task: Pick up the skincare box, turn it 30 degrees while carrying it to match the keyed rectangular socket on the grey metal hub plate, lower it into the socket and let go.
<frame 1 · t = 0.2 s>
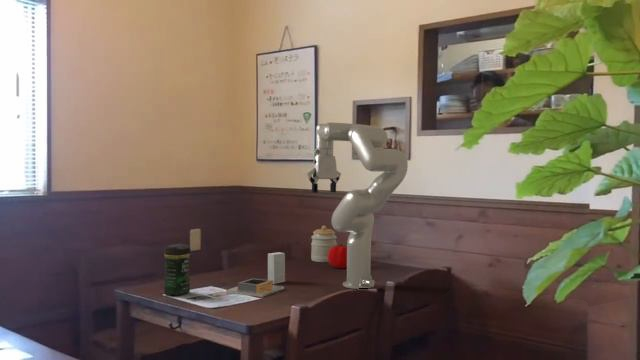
hand: (324, 192, 263), 36 cm above the table, tool pointing down, fingers open, 9 cm apart
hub: (255, 290, 234), on the table
tomato: (340, 268, 287), on the table
coffee jar: (177, 294, 228), on the table
jar: (323, 260, 307), on the table
skincare box: (276, 282, 251), on the table
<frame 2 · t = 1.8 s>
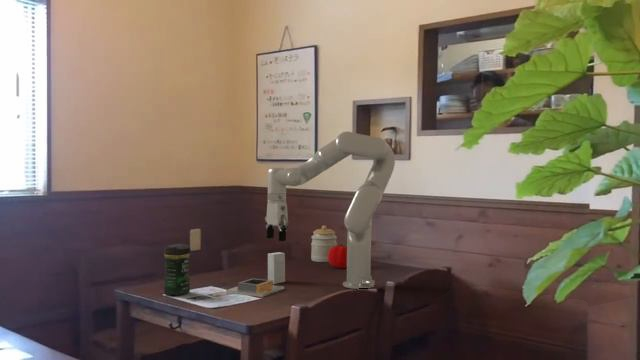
hand: (275, 239, 250), 18 cm above the table, tool pointing down, fingers open, 9 cm apart
nothing on the table moved.
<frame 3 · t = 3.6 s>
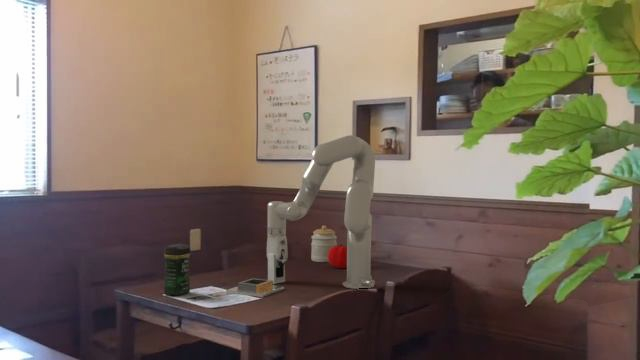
hand: (276, 275, 251), 3 cm above the table, tool pointing down, fingers closed on skincare box, 4 cm apart
skincare box: (276, 282, 251), on the table, touching gripper
everything else where it was.
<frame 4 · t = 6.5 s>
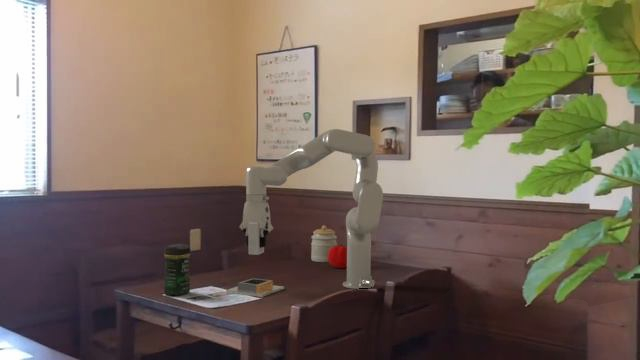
hand: (256, 246, 234), 17 cm above the table, tool pointing down, fingers closed on skincare box, 4 cm apart
skincare box: (256, 254, 234), point 14 cm above the table, touching gripper
everything else where it was.
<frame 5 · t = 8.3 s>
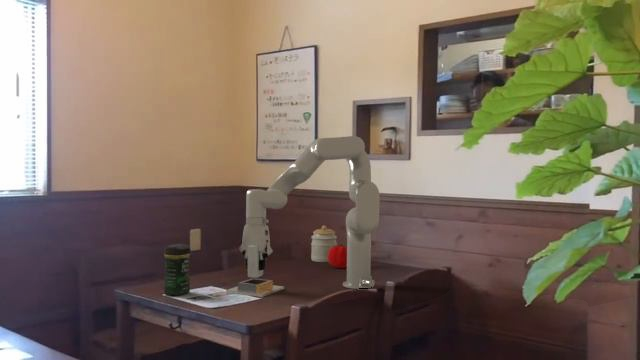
hand: (255, 268, 234), 8 cm above the table, tool pointing down, fingers closed on skincare box, 4 cm apart
skincare box: (255, 276, 234), point 5 cm above the table, touching gripper
everything else where it was.
when the fingers open (4 cm above the table, at t = 9.5 s): skincare box stays where it is, resting on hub.
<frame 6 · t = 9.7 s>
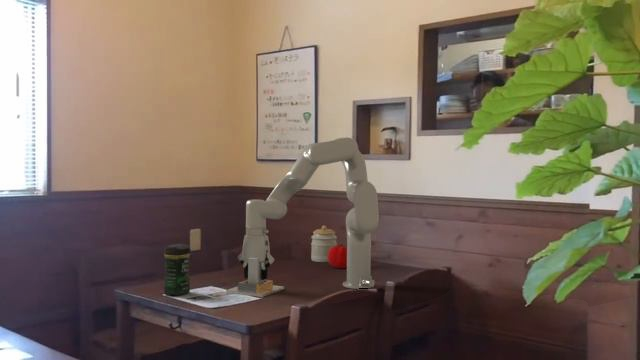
hand: (255, 278, 234), 5 cm above the table, tool pointing down, fingers open, 6 cm apart
skincare box: (255, 288, 234), point 1 cm above the table, touching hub
everything else where it was.
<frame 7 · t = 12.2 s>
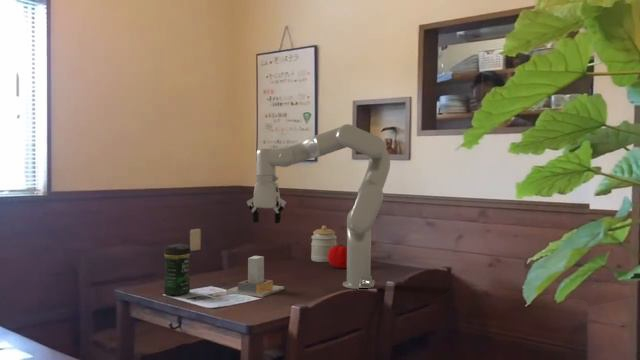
hand: (266, 222, 244), 25 cm above the table, tool pointing down, fingers open, 9 cm apart
nothing on the table moved.
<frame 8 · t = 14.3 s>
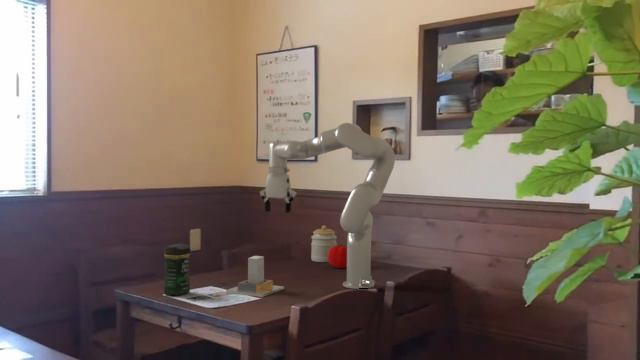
hand: (277, 211, 257), 28 cm above the table, tool pointing down, fingers open, 9 cm apart
nothing on the table moved.
at the end: skincare box inside the target area on the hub (0.2 cm from its centre), point 0.8 cm above the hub's base; skincare box tilted 0°; the gripper is holding nothing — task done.
